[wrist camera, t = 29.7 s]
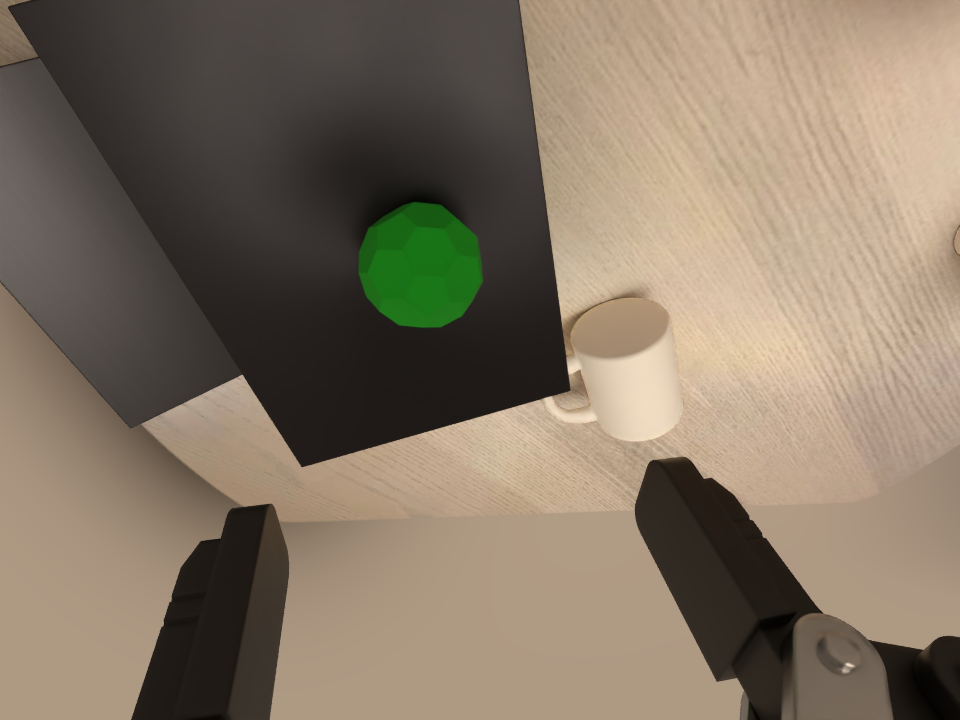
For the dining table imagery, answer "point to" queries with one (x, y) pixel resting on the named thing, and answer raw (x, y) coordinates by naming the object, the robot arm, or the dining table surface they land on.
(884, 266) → the dining table surface
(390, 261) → the polyhedron
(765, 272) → the dining table surface
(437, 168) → the oven
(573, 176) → the dining table surface
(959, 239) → the cup
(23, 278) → the oven door
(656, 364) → the mug
